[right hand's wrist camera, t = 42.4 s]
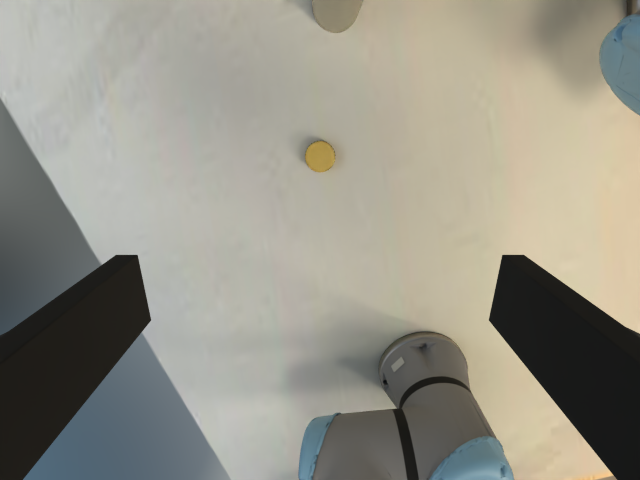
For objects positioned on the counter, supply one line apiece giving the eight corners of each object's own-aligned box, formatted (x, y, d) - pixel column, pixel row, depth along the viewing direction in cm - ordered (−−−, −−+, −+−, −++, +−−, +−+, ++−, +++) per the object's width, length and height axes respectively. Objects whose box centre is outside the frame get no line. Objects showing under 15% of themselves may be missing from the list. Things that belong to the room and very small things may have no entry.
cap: (301, 145, 48) (300, 146, 46) (330, 136, 47) (330, 137, 46) (310, 174, 49) (310, 176, 48) (338, 165, 49) (339, 167, 47)
